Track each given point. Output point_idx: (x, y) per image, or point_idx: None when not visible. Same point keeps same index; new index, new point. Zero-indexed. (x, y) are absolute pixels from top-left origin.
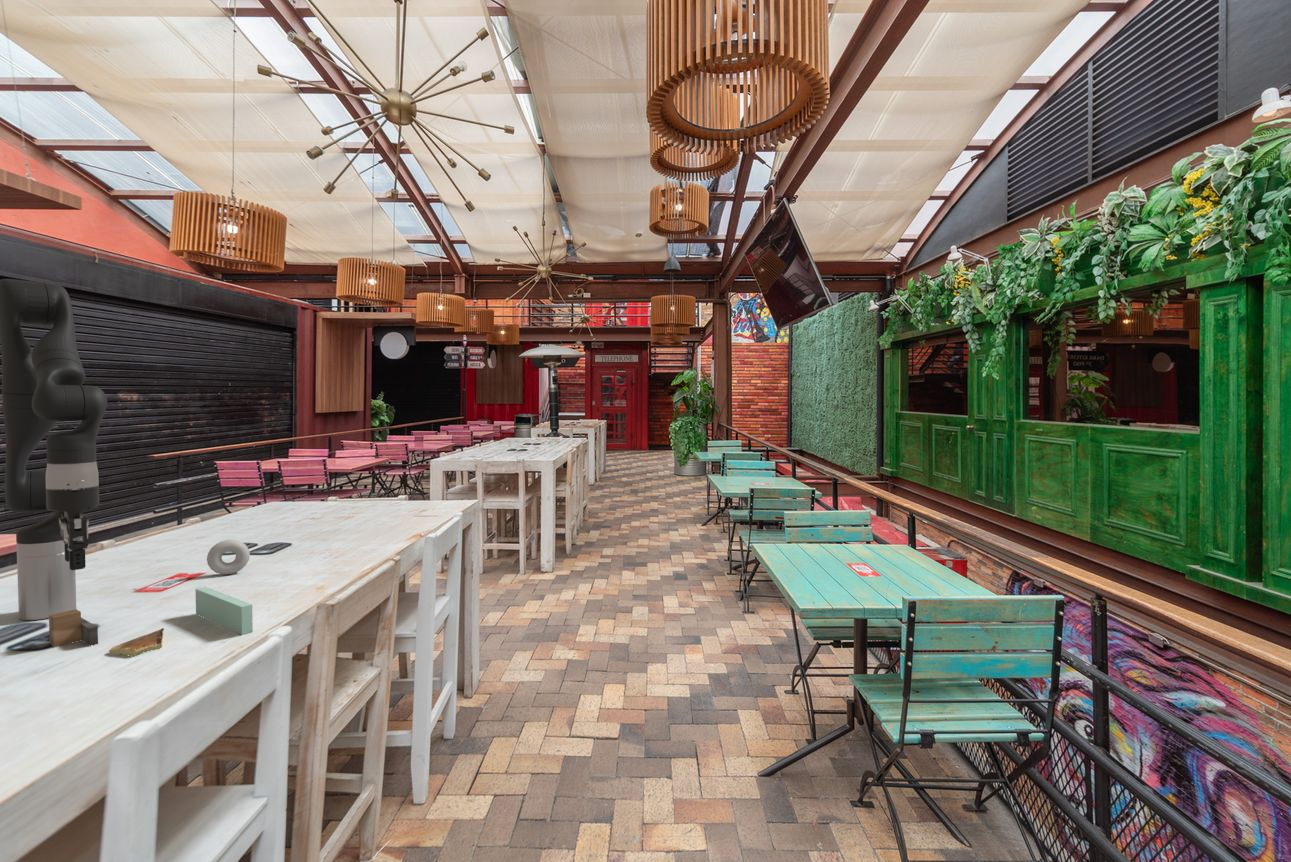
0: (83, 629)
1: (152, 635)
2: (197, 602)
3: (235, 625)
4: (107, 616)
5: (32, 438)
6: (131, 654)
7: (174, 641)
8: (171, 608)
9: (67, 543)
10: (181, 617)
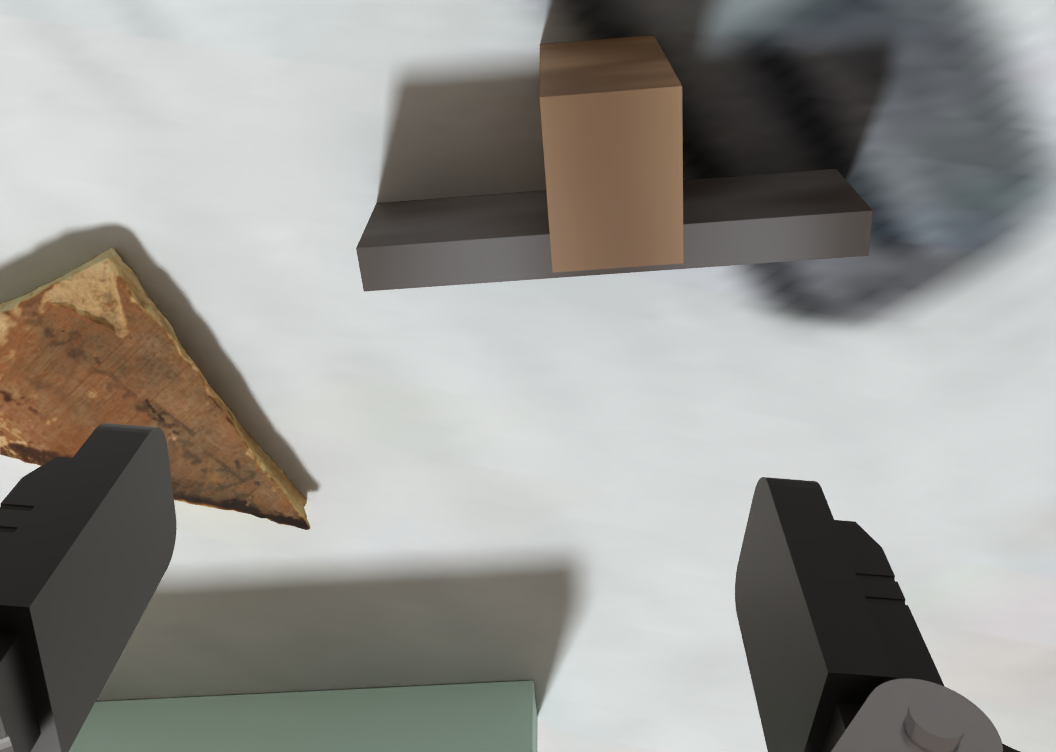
0: (500, 225)
1: (191, 464)
2: (508, 745)
3: None
4: (987, 394)
5: None
6: None
7: None
8: None
9: (835, 704)
10: (545, 627)
